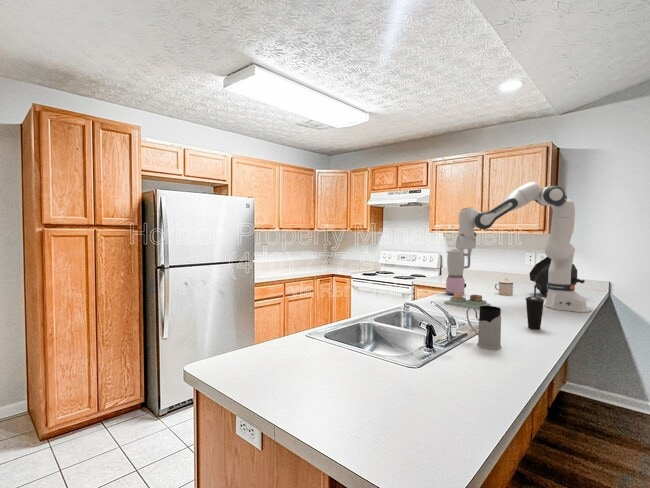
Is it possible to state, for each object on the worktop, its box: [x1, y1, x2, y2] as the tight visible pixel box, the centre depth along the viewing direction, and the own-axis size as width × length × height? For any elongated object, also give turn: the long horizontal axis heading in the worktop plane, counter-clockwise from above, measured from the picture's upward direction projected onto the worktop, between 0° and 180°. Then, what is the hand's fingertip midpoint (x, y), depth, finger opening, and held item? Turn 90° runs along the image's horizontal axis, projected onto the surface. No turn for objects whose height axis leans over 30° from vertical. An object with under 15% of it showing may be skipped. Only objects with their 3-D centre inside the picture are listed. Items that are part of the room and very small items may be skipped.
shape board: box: [443, 296, 491, 310], centre depth 215 cm, size 22×14×4 cm, turn 44°
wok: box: [528, 256, 586, 295], centre depth 243 cm, size 28×28×24 cm
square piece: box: [469, 294, 483, 302], centre depth 211 cm, size 5×5×5 cm
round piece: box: [453, 292, 464, 299], centre depth 219 cm, size 5×5×5 cm
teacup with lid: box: [494, 277, 514, 297], centre depth 252 cm, size 12×9×12 cm
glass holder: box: [466, 305, 502, 351], centre depth 140 cm, size 9×14×15 cm, turn 36°
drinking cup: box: [525, 284, 546, 331], centre depth 163 cm, size 8×8×20 cm
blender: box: [445, 248, 471, 296], centre depth 249 cm, size 16×12×32 cm
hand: (465, 256), depth 221 cm, fingers open, 8 cm apart
